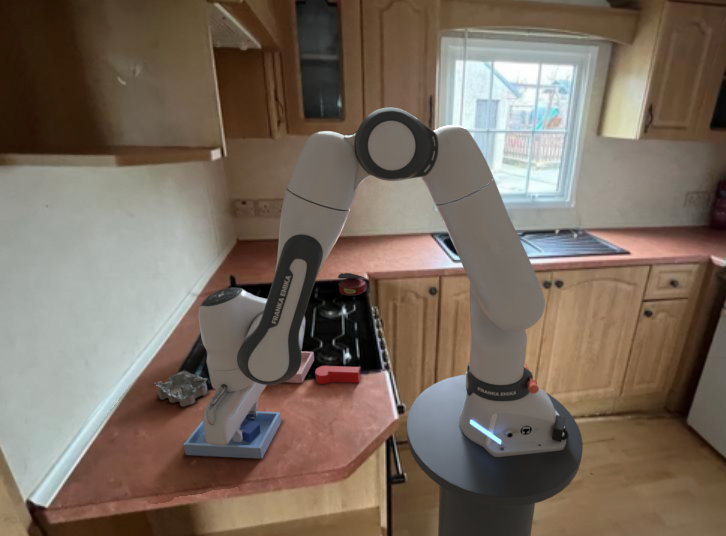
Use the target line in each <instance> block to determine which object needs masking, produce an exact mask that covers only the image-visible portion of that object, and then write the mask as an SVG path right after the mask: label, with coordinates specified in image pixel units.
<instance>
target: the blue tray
mask: <svg viewBox="0 0 726 536" xmlns="http://www.w3.org/2000/svg"><path fill="white" fill-rule="evenodd" d="M257 414H258V415H257V417H256V419H255V420H254V421H253V422H256V423H258V424H260V434H259V435H258V436H257V437H256V438H255V439H254V440H252V441H251V442H250V443H249V442H246V441H244V440H242V441H241V442H234V441H233V439H232V438H231V440H230V441H229V443H228V444H227V445H211V444H208V443H207V442H206V438H205V432H204V421H203V419H202V421H200V423H199V424H198V425H197V427H196V428H195V429H194V431H193V432H192V433H191V435H189V437H188V438H187V439H186V441H184V443H183V448H184V453H185V455H186V456H197V457H198V456H199V457H221V458H239V459H240V458H241V459H242V458H243V459H261V460H262V459H263V458H264V455H265V454H266V452H267V450H268V448H269V446H270V444H271V442H272V441H273V438H274V437H275V435H276V433H277V431H278V430H279V427H280V425H281V424H282V416H281V415H282V414H281V412H280V411H259V410H257ZM245 418H246V417H245Z"/></svg>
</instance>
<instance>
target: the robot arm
mask: <svg viewBox="0 0 726 536" xmlns="http://www.w3.org/2000/svg"><path fill="white" fill-rule="evenodd" d="M370 177H375V178H376V179H378V180H382V181H386V182H399V181H400V182H401V181H405V180H411V179H417V178H420V179H421V180H422V181H423V182H424V184H425V186H426V188H427V189H428V191H429V193H430V195H431V198H432V201H433V203H434V205H435V207H436V209H437V211H438V214H439V215H440V218H441V221H442V222H443V225H444V227H445V229H446V231H447V234H448V236H449V238H450V240H451V243H452V245H453V247H454V249H455V251H456V253H457V256H458V259H459V260H460V263H461V265H462V268H463V270H464V272H465V274H466V276H467V279H468V281H469V321H470V344H469V345H470V346H469V362H468V364H467V367H466V372H465V375H466V391H467V394H466V399H465V403H464V407H463V410H462V412H461V414H460V417H459V425H460V428H461V430H462V432H463V433H464V434H465V435H466V436H467V437H468V438H469V439H470V440H472V441H473V442H475V443H477V444H479V445H481V446H482V447H484V448H485V449H486V450H487V451H488V452H489V453H490V454H491V455H492V456H494V457H504V456H513V455H522V454H532V453H541V452H551V451H560V450H563V449H564V447H565V445H566V439H567V438H568V432H567V430H566V429H565V426H564V424H565V417H563V416H560V415H559V414H558V412H557V411H556V410H555V409H554V406H553V404H552V401H551V399H550V398H549V396H548V395H547V393H548V392H547V391H545V390H544V389H542V388H541V387H539V385H538V382H537V381H536V380H534V375H533V373H532V372H531V371H530V368H529V366H528V364H526V352H527V344H528V335H527V330H528V329H530V328H532V327H533V326H534V325H536V324H537V323H538V322H539V320H540V319H541V318H542V316H543V315H544V311H545V307H546V301H545V297H544V296H545V295H544V291H543V288H542V285H541V283H540V281H539V278H538V276H537V274H536V271H535V269H534V267H533V264H532V263H531V262H532V261H530V258H529V256H528V253H527V251H526V249H525V247H524V245H523V243H522V241H521V239H520V236H519V234H518V232H517V231H516V228H515V227H514V224H513V222H512V219H511V217H510V215H509V213H508V210H507V208H506V205H505V203H504V200H503V198H502V195H501V192H500V190H499V187H498V184H497V182H496V180H495V178H494V175H493V173H492V170H491V168H490V166H489V164H488V161H487V160H486V157H485V156H484V153H483V152H482V150H481V149H480V147H479V145H478V144H477V141H476V140H475V138H474V137H473V136H472V134H471V133H470V131H469V130H468V129H466V128H465V127H463V126H461V125H455V124H453V125H451V124H450V125H445V126H444V125H443V126H442V127H441V126H440V127H439V128H437V129H435V130H433V129H431V128H430V127H429V126H427V125H426V124H425V123H424V122H422V121H421V120H420V119H418V118H417V117H416V116H414V115H413V114H412V113H410V112H409V111H407V110H404V109H402V108H399V107H389V106H387V107H381V108H379V109H376V110H374V111H372V112H370V113H369V114H368V115H367V116H365V118H364V119H363V120H362V122H361V123H360V125H359V127H358V128H357V130H355V132H353V133H352V134H349V135H347V134H341V133H339V132H336V131H330V130H321V131H317V132H314V133H312V134H311V135H309V137H308V138H307V139H306V141H305V143H304V145H303V146H302V148H301V150H300V152H299V154H298V156H297V158H296V160H295V163H294V165H293V167H292V171H291V173H290V176H289V179H288V182H287V186H286V188H285V192H284V196H283V200H282V204H281V205H282V206H281V211H280V219H279V232H278V245H277V257H276V265H275V271H274V275H273V278H272V279H273V280H272V283H271V286H270V289H269V293H268V296H267V298H264V297H259V296H257V295H255V294H252V293H251V294H252V295H251V294H249V293H250V292H248V291H246V290H245V289H243V288H240V287H227V288H223V289H220V290H217V291H215V292H212V293H211V294H209V295H208V296H206V298H204V299H203V301H202V302H201V303H200V305H199V308H198V324H199V331H200V337H201V342H202V345H203V347H204V348H205V350H206V366H207V369H208V370H207V371H208V376H209V381H210V384H211V388H213V389H214V390H215V391H216V392H215V393H214V395H213V396H211V398H210V399H209V400H208V403H207V404H206V406H205V407H204V410H203V416H202V418H203V419H202V420H203V421H204V432H205V438H206V442H207V443H208V444H211V445H227V444H228V443H229V441H230V440H231V438H232V439H233V441H234V442H241V441H242V439H243V438H244V436H245V434H244V430H239V428H240V425H241V423H242V422H243V420H244V419H245V417H246V418H247V419H249V420H251V421H254V420H255V419H256V417H257V415H258V414H257V411H258V405H259V399H260V398H259V397H260V396H261V394H262V393H263V392H264V390H265V389H266V387H267V386H275V385H278V384H283V383H286V382H285V381H288V380H289V379H291V378H292V377H293V376H295V375H296V373H297V372H298V370H299V368H300V366H301V356H302V353H301V351H302V350H303V343H304V338H305V337H304V336H305V330H306V323H307V320H306V316H305V314H306V312H307V309H308V305H309V302H310V298H311V296H312V292H313V290H314V286H315V284H316V281H317V279H318V277H319V275H320V273H321V271H322V268H323V267H324V265H325V263H326V261H327V260H328V257H329V256H330V254H331V252H332V250H333V248H334V247H335V245H336V243H337V241H338V239H339V237H340V235H341V233H342V232H343V230H344V227H345V224H346V222H347V220H348V217H349V215H350V212H351V209H352V206H353V202H354V199H355V197H356V194H357V192H358V189H359V187H360V186H361V184H362V183H363V182H364V181H365V180H366V179H368V178H370ZM302 352H303V351H302Z"/></svg>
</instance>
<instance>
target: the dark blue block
mask: <svg viewBox="0 0 726 536" xmlns="http://www.w3.org/2000/svg"><path fill="white" fill-rule="evenodd" d="M239 430H244V434H245V436H244V438H243V439H242V440H244V441H246V442H249V443H250V442H251V441H252V440H254V439H255V438H256V437H257V436H258V435H259V434H260V424H258V423H256V422H253V421H251V420H249V419H247V418H245V419H244V420H243V422H242V423H241V425H240V428H239Z"/></svg>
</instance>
